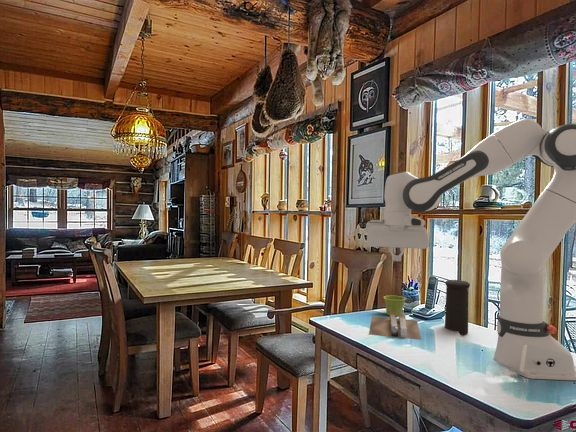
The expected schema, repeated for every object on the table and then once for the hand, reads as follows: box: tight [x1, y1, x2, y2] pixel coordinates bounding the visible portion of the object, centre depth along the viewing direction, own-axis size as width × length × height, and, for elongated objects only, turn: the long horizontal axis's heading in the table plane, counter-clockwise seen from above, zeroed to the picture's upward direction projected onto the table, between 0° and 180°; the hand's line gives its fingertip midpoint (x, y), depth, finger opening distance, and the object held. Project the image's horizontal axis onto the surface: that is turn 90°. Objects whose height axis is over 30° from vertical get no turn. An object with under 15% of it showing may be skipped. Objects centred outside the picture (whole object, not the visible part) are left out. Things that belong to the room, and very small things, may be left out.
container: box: [444, 279, 471, 336], centre depth 147 cm, size 9×9×20 cm
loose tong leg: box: [389, 313, 398, 336], centre depth 146 cm, size 2×22×3 cm, turn 167°
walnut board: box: [368, 316, 422, 341], centre depth 147 cm, size 18×25×2 cm
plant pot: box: [383, 295, 407, 317], centre depth 167 cm, size 9×9×9 cm
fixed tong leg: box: [398, 313, 408, 339], centre depth 145 cm, size 2×22×3 cm, turn 165°
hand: (396, 261), depth 130 cm, fingers closed
